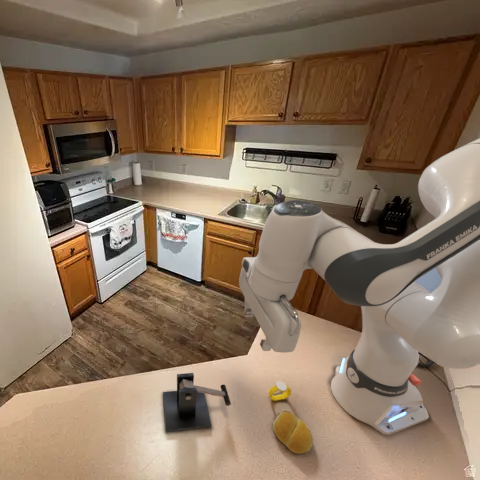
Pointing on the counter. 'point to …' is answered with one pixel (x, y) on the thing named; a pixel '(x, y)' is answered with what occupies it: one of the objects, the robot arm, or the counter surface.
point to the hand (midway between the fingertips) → (255, 330)
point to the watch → (282, 388)
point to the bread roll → (292, 432)
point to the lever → (207, 390)
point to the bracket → (185, 408)
